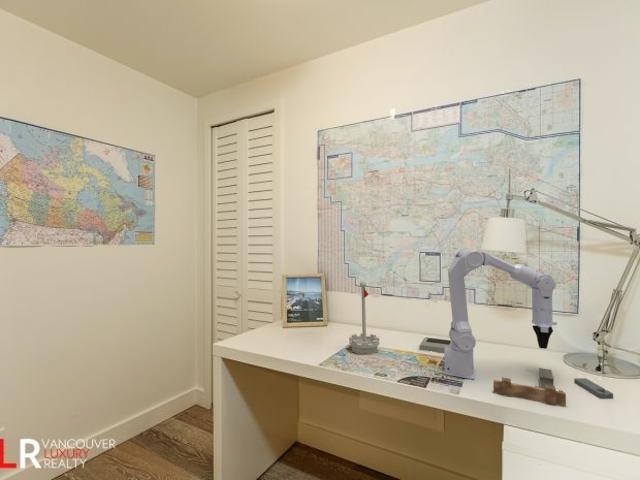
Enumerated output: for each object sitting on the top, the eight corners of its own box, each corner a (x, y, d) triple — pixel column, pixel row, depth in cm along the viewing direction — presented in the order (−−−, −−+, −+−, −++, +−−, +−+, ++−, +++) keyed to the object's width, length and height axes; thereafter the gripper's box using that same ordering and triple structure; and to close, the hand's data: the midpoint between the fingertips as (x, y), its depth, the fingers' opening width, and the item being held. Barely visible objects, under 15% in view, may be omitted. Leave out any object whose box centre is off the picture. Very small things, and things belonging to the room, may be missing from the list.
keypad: (457, 347, 132) (419, 342, 138) (457, 356, 132) (419, 350, 139) (459, 340, 140) (423, 336, 147) (459, 348, 140) (423, 344, 147)
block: (540, 390, 101) (540, 376, 101) (539, 380, 108) (538, 367, 108) (553, 392, 99) (553, 379, 99) (551, 382, 106) (551, 369, 106)
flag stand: (344, 347, 144) (343, 280, 144) (371, 343, 148) (369, 278, 148) (357, 357, 132) (355, 284, 132) (385, 352, 136) (383, 281, 136)
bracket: (586, 384, 105) (586, 377, 105) (614, 400, 95) (613, 393, 95) (573, 384, 105) (573, 378, 105) (600, 400, 95) (599, 393, 95)
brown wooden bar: (493, 393, 99) (493, 378, 99) (494, 386, 104) (493, 372, 104) (566, 407, 90) (566, 391, 90) (563, 399, 95) (563, 384, 95)
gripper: (559, 314, 103) (560, 356, 103) (553, 305, 115) (554, 343, 115) (533, 312, 106) (533, 353, 106) (530, 303, 119) (530, 340, 119)
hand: (542, 347), depth 111 cm, fingers closed
